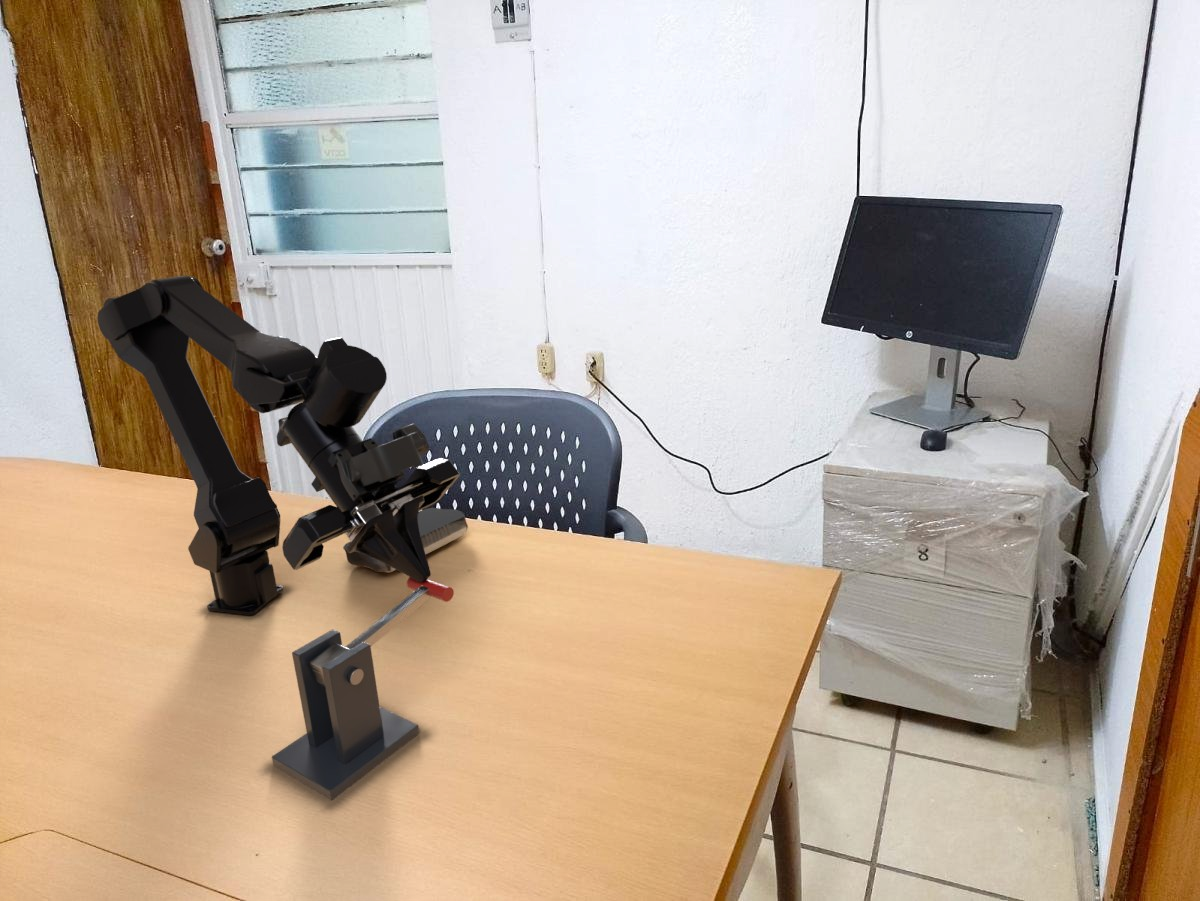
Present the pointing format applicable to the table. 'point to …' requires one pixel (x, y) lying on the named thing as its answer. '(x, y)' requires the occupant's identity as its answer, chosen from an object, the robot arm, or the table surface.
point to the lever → (386, 621)
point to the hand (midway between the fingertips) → (426, 579)
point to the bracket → (340, 720)
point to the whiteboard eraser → (422, 535)
